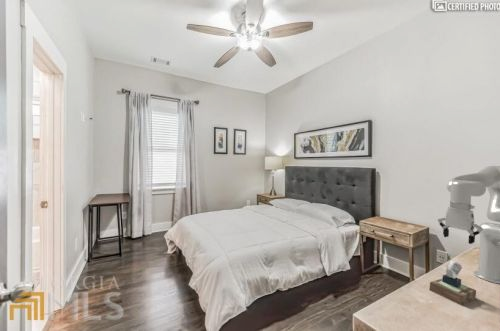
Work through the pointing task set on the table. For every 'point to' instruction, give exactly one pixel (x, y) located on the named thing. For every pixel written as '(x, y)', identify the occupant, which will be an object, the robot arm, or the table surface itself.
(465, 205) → the robot arm
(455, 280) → the watch
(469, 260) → the table surface
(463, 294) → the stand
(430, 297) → the table surface
